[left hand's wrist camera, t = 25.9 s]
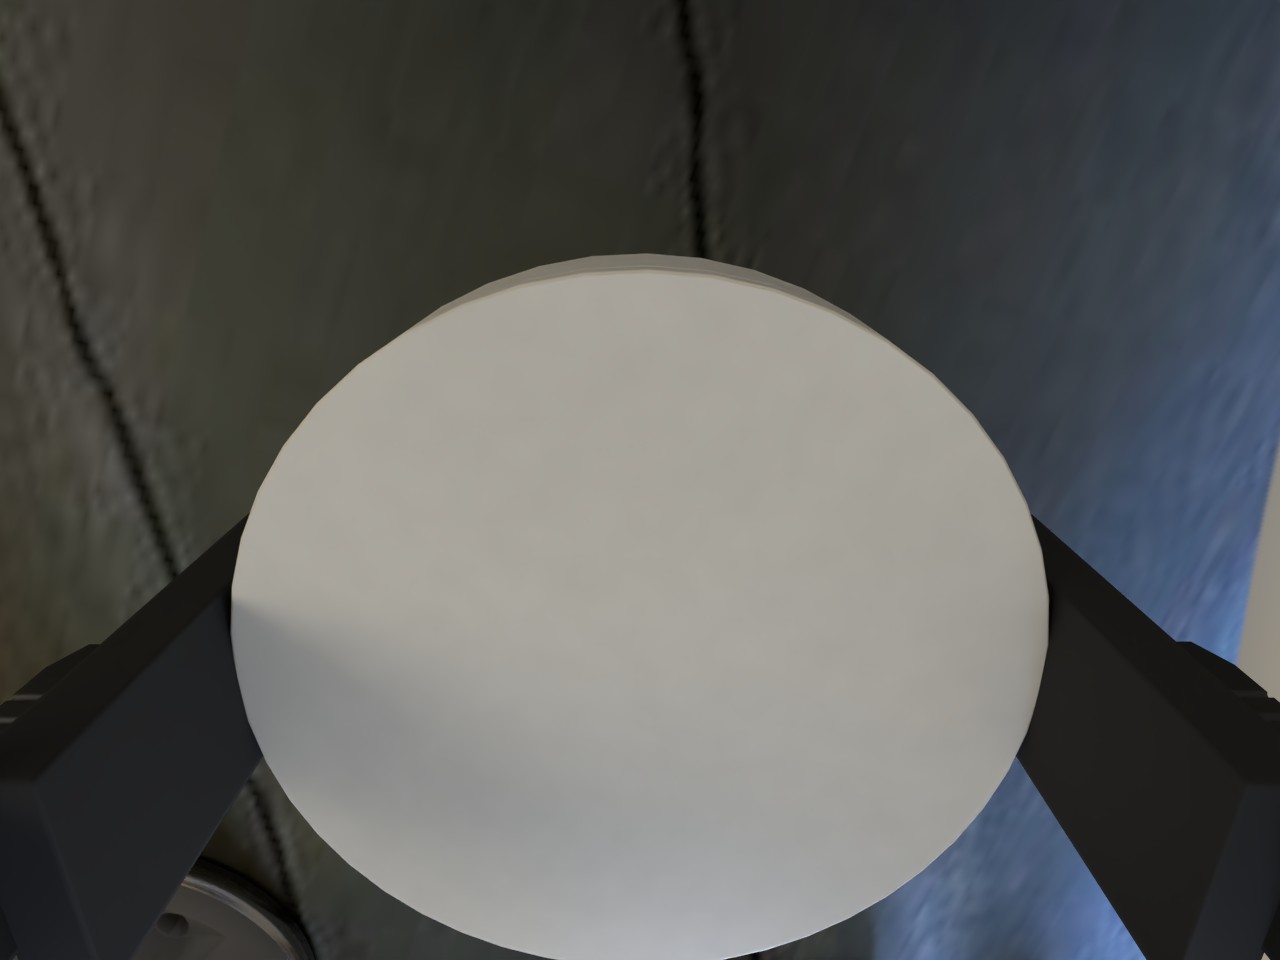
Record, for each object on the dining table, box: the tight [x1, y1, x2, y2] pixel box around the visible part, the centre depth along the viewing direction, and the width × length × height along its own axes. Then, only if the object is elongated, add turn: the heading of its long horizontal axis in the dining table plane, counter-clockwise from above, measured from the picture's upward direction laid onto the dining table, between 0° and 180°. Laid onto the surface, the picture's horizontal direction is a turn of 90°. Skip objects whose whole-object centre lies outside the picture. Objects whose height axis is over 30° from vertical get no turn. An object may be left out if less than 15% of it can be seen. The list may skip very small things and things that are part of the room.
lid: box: [230, 254, 1049, 960], centre depth 11 cm, size 11×11×2 cm
